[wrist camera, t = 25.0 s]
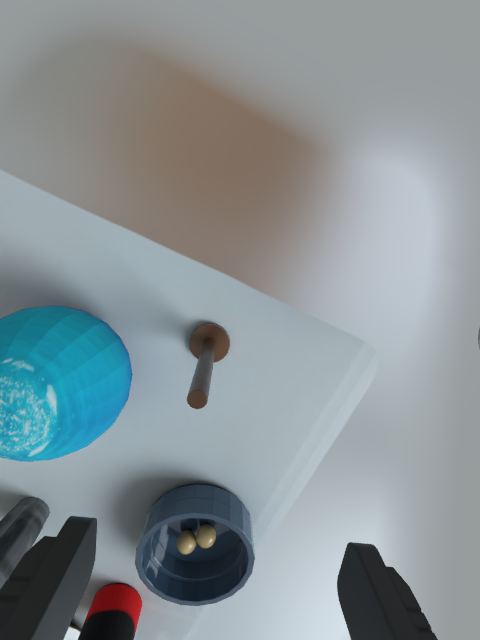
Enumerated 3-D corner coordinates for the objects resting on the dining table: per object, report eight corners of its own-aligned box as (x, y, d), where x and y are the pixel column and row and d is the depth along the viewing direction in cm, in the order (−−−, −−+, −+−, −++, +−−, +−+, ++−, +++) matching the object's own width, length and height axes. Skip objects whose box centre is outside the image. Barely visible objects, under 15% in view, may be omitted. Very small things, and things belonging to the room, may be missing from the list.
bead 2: (208, 554, 39) (195, 551, 41) (222, 541, 41) (209, 539, 43) (202, 532, 40) (189, 530, 41) (216, 520, 42) (204, 519, 44)
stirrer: (235, 330, 37) (238, 380, 22) (222, 365, 38) (217, 435, 23) (197, 317, 36) (175, 361, 22) (185, 353, 37) (157, 418, 23)
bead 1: (176, 527, 42) (194, 523, 43) (171, 545, 42) (189, 541, 43) (183, 542, 40) (201, 538, 41) (178, 561, 40) (196, 557, 41)
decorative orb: (127, 422, 39) (65, 524, 24) (14, 384, 37) (-124, 469, 23) (164, 323, 36) (120, 371, 21) (44, 276, 34) (-93, 293, 20)
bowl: (259, 487, 42) (263, 519, 37) (242, 569, 46) (244, 609, 40) (150, 476, 41) (139, 507, 36) (142, 561, 45) (131, 601, 39)
